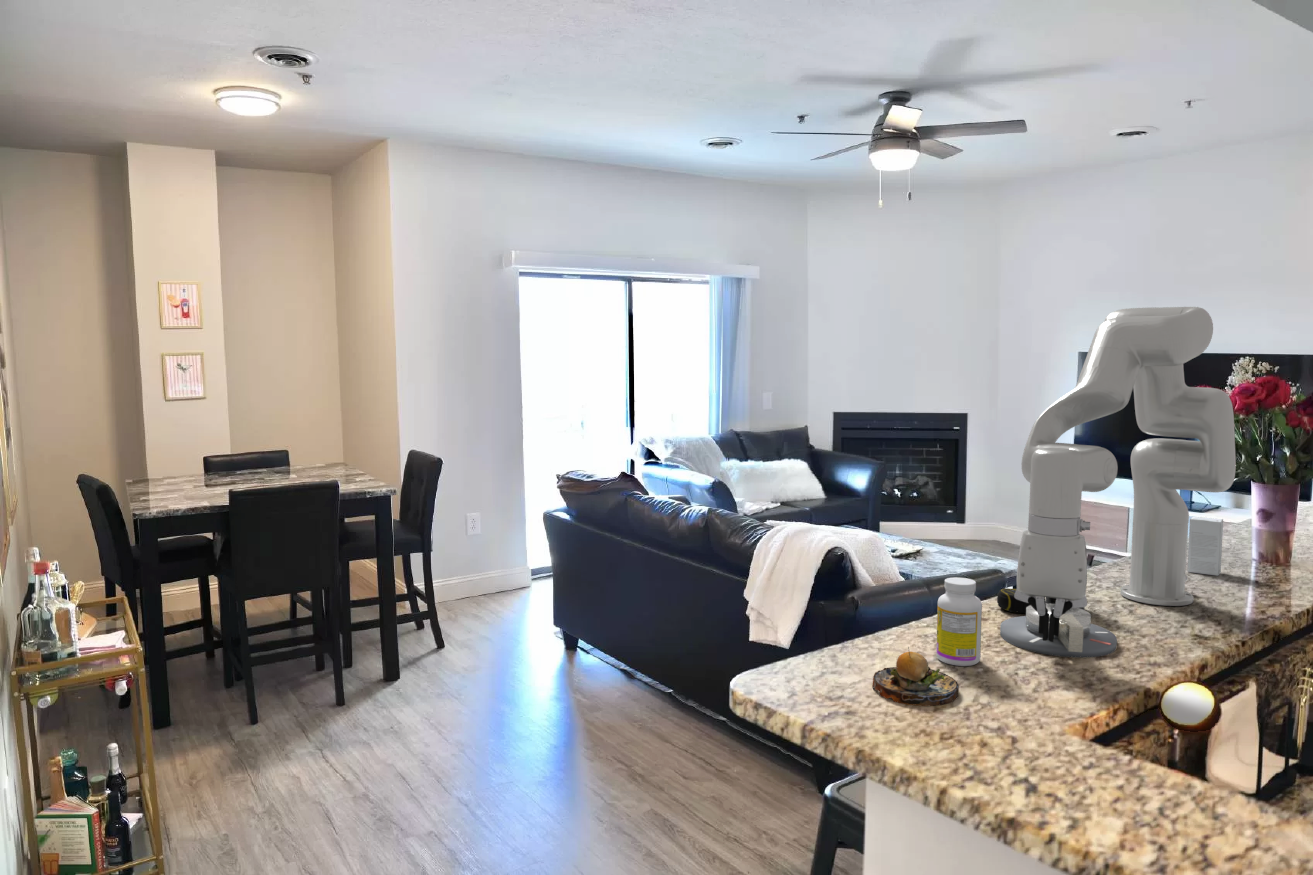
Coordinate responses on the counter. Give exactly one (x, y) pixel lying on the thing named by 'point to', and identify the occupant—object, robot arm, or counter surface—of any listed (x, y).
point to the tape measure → (1011, 601)
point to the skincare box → (1205, 545)
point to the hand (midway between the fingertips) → (1048, 638)
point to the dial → (1064, 626)
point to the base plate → (1057, 640)
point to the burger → (915, 682)
